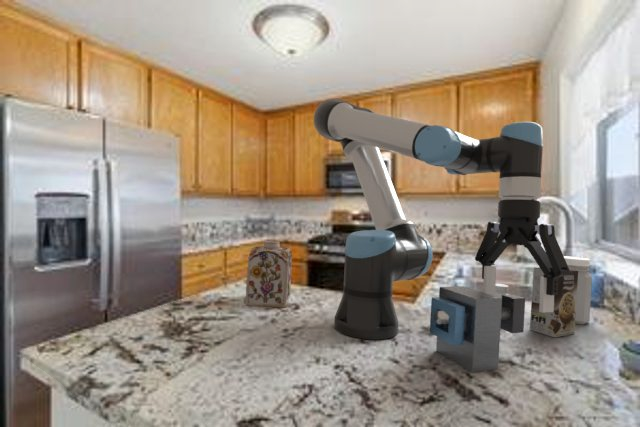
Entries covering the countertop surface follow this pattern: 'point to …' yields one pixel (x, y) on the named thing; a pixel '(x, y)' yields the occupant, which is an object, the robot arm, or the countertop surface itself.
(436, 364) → the countertop surface
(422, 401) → the countertop surface
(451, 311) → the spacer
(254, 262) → the decorative jar
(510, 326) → the shaft
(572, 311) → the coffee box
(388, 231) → the robot arm
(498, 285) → the pill bottle
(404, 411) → the countertop surface
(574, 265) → the jar
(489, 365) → the block
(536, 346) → the countertop surface
